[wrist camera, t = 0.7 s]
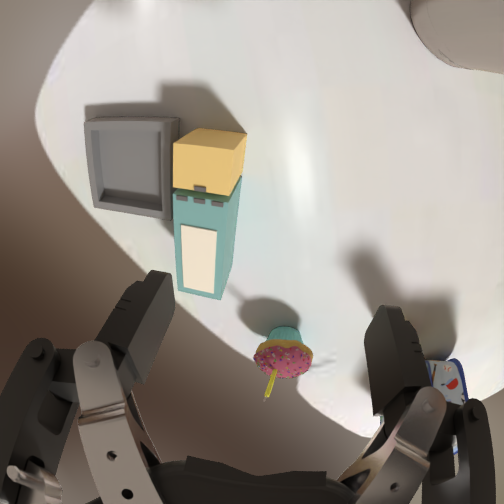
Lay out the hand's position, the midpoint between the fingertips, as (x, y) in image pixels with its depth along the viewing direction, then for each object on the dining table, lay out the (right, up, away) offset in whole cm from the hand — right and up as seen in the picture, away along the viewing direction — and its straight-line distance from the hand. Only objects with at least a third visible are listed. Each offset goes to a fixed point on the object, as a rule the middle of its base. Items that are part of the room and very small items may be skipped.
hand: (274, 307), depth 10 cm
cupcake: (+5, -11, +32) cm, 34 cm away
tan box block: (-4, +12, +16) cm, 21 cm away
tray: (-14, +12, +18) cm, 26 cm away
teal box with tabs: (-5, +5, +21) cm, 23 cm away
